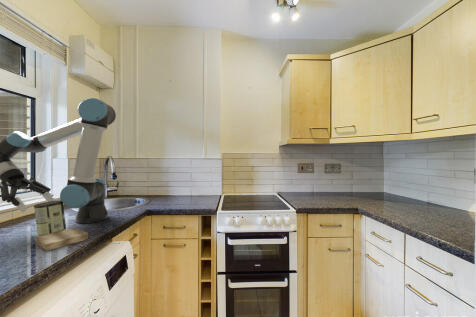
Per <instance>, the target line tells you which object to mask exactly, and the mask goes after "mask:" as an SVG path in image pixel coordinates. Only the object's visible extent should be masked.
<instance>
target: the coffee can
mask: <svg viewBox="0 0 476 317" xmlns="http://www.w3.org/2000/svg"><path fill="white" fill-rule="evenodd" d="M64 208H65V207H64V204H63V203H62V201H61V199H60V200H56V201H51V202H48V201H46V202H41V203H40V202H39V203H37V204H35V205H33V209H34V215H35V216H34V217H35V225H36V232H37V237H38V236H42V235H47V234H51V233H55V232H59V231H64V230H67V226H66V218H65V217H66V216H65V210H64Z"/></svg>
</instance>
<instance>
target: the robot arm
mask: <svg viewBox="0 0 476 317" xmlns="http://www.w3.org/2000/svg"><path fill="white" fill-rule="evenodd" d="M77 113H78V115H79V117H80V118H79V119H75V120H74V121H71V122H68V123H65V124H63V125H60V126H57V127H55V128H53V129H50V130H48V131H47V130H46V131H45V132H42V133H40V134H37V135H35V136H31V137H30V136H29V135H27V134H26V133H25V132H21V131H18V130H16V131H13V132H11V133H10V134H8V135H7V136H6V137H5V138H3V139H2V140H1V141H0V195H1V201H2V202H6V203H8V204H10V203H11V204H12V205H13V206H14V207H16V208H17V209H18V210H19V211H20V212H21V213H24V212H26V210H28V208H29V207H28V206H27V205H26V204H25V203H24V201H22V200H21V198H20V197H19V196H17V192H18V191H19V190H30V191H32V192H36V193H38V194H40V195H41V196H42V197H43V198H44V199H45V200H46V202H51V201H57V200H56V199H55V198H54V197H53V195H52V194H51V193H50V191H51V190H52V188H49V187H48V186H47V185H44V184H43V183H41V182H40V181H37V180H36V179H35V178H33V177H30V179H27V178H25V173H24V172H22V171H21V169H19V167H18V166H17V165H16V163H14V162H13V161H12V160H11V159H12V158H13V157H15V156H16V155H17V154H18V153H34V154H35V153H36V154H37V153H42V152H44V151H46V150H47V149H48V148H50V147H53V146H54V145H58V144H59V143H62V142H64V141H65V142H66V141H67V140H70V139H72V138H75V137H77V136H80V140H79V143H78V149H77V152H76V158H75V163H74V168H73V174H72V175H71V176H69V177H68V179H67V183H66V186H64V187H63V188H62V189H61V191H60V194H59V199H60V200H61V201H62V203H63V206H65V207H68V208H70V209H78V211H77V212H76V216H75V223H77V224H92V223H98V222H102V221H104V220H105V221H106V220H107V219H109V212H108V210H107V207H106V205H105V198H106V197H105V194H106V193H105V186H106V185H105V180H104V178H95V172H96V167H97V163H98V158H99V153H100V147H101V143H102V142H101V141H102V138H103V133H104V131H106V130H108V126H110V125H112V124H113V123H114V122H115V120H116V118H117V113H116V111H115V109H114V107H112V106H111V105H109V104H107V103H105V102H104V100H101V99H98V98H94V97H89V98H85V99H83V100H82V101H81V102H80V103H79V104H78V106H77ZM9 187H10V189H9Z"/></svg>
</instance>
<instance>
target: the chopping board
mask: <svg viewBox="0 0 476 317" xmlns="http://www.w3.org/2000/svg"><path fill="white" fill-rule="evenodd" d="M86 239H87V240H89V233H88V232H87V231H83V230H81V229H80V228H77V227H73V228H69V229H66V230H64V231H59V232H55V233H51V234H47V235H42V236H38V235H37V236H36V237H35V239H34V244H35V245H37V246H38V247H40V248H41V249H42V250H43V251H45V252H47V251H48V252H49V251H51V250H55V249H58V248H62V247H65V246H69V245H73V244H75V243H80V242H83V241H87V240H86Z"/></svg>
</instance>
